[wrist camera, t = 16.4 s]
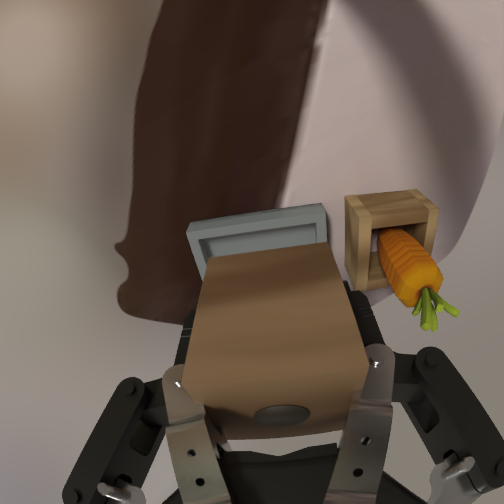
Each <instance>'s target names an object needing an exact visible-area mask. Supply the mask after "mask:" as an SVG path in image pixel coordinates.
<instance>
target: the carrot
mask: <svg viewBox="0 0 504 504" xmlns="http://www.w3.org/2000/svg"><path fill="white" fill-rule="evenodd" d="M377 244H378V252H379V257H380V260H381V264H382V267H383V269H384V272H385V274H386V276H387V279H388V281H389V283H390V285H391V287H392V289H393V291H394V293H395V295H396V296H397V297H398V298H399V300H400V301H401V302H402V303H403V304H404V305H405V306H406V307H415V308H414V310H413V312H412V315H413V316H415V315H418V314H419V313H420V311H421V308H422V312H421V323H420V327H421V328H422V329H423V330H425V331H427V330H429V329H430V328H431V330H432V332H434V331H436V330H437V316H436V312H442V311H443V309H444V310H445V311H446V312H448V313H449V314H451V315H452V316H454V317H457V316H458V315H459V310H458V309H456V308H455V307H453V306H451V305H450V304H448V303H447V302H446V301H444V300H443V299H442V298H441V297H440V296H439V295H438V291H439V289H440V286H441V284H442V281H443V276H442V274H441V272H440V270H439V268H438V267H437V265H436V263H435V262H434V260H433V259H432V258H431V256H430V255H429V254H428V253H427V252H426V250H425V249H424V248H423V247H422V246H421V245H420V244H419V243H418V241H417V240H416V239H414V238H413V237H412V236H411V235H409V234H408V233H406V232H405V231H403V230H402V229H400V228H397V227H394V226H391V227H383V228H379V233H378V239H377ZM431 300H433V302H434V305H435V308H434V307H433V305H432V303H431ZM435 309H436V312H435Z"/></svg>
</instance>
